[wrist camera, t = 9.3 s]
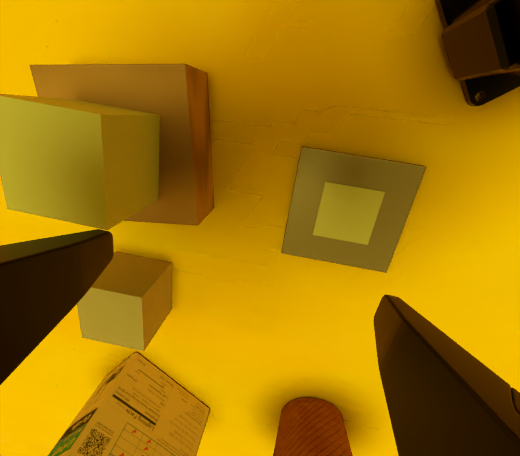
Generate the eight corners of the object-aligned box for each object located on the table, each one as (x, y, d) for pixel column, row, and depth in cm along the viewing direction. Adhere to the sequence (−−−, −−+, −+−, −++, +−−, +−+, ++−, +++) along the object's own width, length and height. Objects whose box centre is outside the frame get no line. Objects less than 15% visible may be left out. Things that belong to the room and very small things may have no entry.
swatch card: (301, 146, 18) (302, 147, 18) (424, 166, 18) (426, 166, 18) (281, 251, 22) (281, 253, 21) (385, 270, 21) (386, 273, 21)
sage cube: (75, 99, 16) (-17, 92, 11) (159, 114, 15) (100, 114, 11) (83, 184, 18) (7, 208, 13) (158, 199, 17) (107, 230, 13)
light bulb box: (103, 376, 31) (9, 502, 21) (136, 348, 28) (47, 475, 18) (177, 430, 32) (123, 568, 23) (213, 408, 30) (170, 552, 20)
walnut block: (81, 74, 19) (29, 64, 15) (208, 73, 18) (185, 63, 14) (107, 200, 22) (70, 216, 19) (215, 206, 21) (197, 225, 18)
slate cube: (117, 251, 24) (73, 284, 19) (172, 262, 24) (141, 297, 19) (120, 298, 26) (82, 337, 21) (172, 308, 26) (143, 351, 21)
